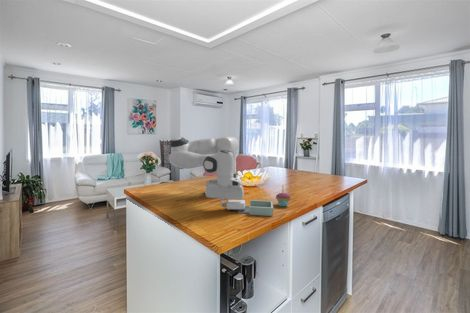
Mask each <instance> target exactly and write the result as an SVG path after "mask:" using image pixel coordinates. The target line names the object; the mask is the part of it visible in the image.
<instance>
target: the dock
mask: <svg viewBox="0 0 470 313" xmlns="http://www.w3.org/2000/svg"><path fill="white" fill-rule="evenodd" d="M249 203H250V204H249V205H247V206H246V205H245V209H244V211H242V209H237V214H244V215H245V214H246V215H249V216H268V217H274V204H273V203H274V202H273V200H257V199H250V202H249Z"/></svg>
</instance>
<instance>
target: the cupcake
mask: <svg viewBox="0 0 470 313" xmlns="http://www.w3.org/2000/svg"><path fill="white" fill-rule="evenodd" d="M281 187H282V190H281V191H282V192H279V193H277V194H276V195H275V196H276V197H275V199H276V201H277V203H278V206H280V207H286V205H287V206H288V203H289V201H291V198H292V197H291V195H290V194H288V193H286V192H285V191H284V188H285V187H284V184H282V186H281Z"/></svg>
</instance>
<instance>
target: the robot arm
mask: <svg viewBox="0 0 470 313" xmlns="http://www.w3.org/2000/svg"><path fill="white" fill-rule="evenodd" d="M169 145H170V149H171V153H170V154H169V156H168V163H170V164H171V165H172V166H173V167H176V168H177V169H179V170H188V169H195V168H200V167H203V169H204V170H205V172H206V173H210V174H215V173H216V178H215V179H213V180H212V179H208V180H206V181H205V188H206V189H205V191H204V194H205V197H206V198H213V199H219V201H220V203H221V207H225V208H227V202H228V201H229V200H244V195H245V194H244V193H245V192H244V187H243V185H242V184H243V182H242V180H241V179H239V178H237V177H238V174H237V160H236V152H235V151H236V150H237V149H238V148H239V141H238V139H237V138H236V137H235V136H228V135H227V136H222V137H221V136H220V137H211V138H202V139H195V140H192V141H189V139H186V138H184V137H182V136H176V137H174V138H172V139H170V142H169ZM223 200H225V201H226V202H224V201H223Z"/></svg>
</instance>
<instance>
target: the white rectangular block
mask: <svg viewBox="0 0 470 313" xmlns="http://www.w3.org/2000/svg"><path fill="white" fill-rule="evenodd" d="M226 202H227V201H226ZM245 206H246V200H245V199H242V200H239V199H229V201H228V202H227V207H226V210H227V211H228V212H230V211H231V210H239V209H242V211H244V209H245Z"/></svg>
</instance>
